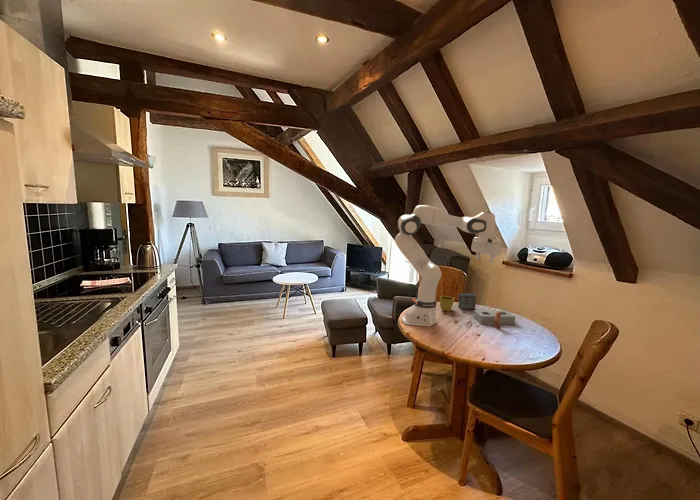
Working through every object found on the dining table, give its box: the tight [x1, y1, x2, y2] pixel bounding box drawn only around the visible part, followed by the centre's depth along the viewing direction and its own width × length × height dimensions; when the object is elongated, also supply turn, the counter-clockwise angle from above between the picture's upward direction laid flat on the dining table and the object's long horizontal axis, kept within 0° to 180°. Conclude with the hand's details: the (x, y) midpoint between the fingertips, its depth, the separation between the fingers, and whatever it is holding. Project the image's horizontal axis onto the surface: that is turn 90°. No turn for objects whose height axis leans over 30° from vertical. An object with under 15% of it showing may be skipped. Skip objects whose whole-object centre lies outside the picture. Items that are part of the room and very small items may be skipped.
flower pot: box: [439, 295, 455, 312], centre depth 223 cm, size 9×9×9 cm
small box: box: [458, 292, 477, 311], centre depth 227 cm, size 11×6×10 cm, turn 84°
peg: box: [494, 311, 501, 329], centre depth 194 cm, size 3×3×10 cm
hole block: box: [473, 309, 516, 325], centre depth 205 cm, size 22×11×5 cm, turn 91°
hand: (484, 260), depth 194 cm, fingers open, 8 cm apart
